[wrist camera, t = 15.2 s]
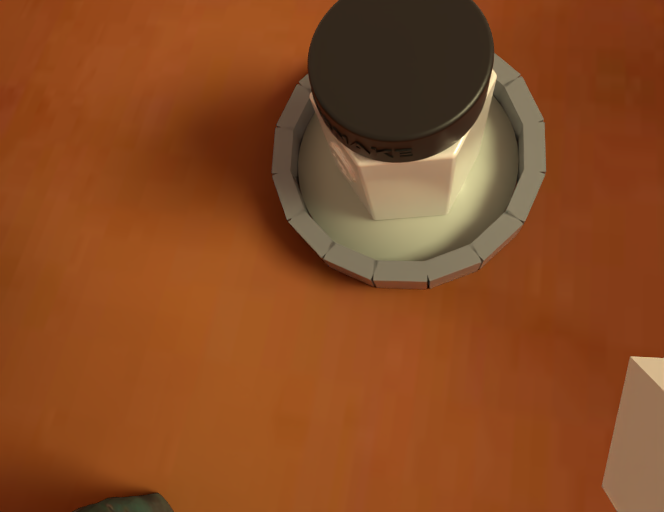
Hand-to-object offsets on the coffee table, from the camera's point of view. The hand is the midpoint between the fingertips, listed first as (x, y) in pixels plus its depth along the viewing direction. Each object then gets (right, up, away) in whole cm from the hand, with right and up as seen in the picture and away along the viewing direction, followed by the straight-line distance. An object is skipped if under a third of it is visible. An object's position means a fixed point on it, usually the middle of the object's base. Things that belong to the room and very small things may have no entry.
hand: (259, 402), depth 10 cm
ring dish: (+6, +9, +26) cm, 28 cm away
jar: (+6, +9, +26) cm, 28 cm away
